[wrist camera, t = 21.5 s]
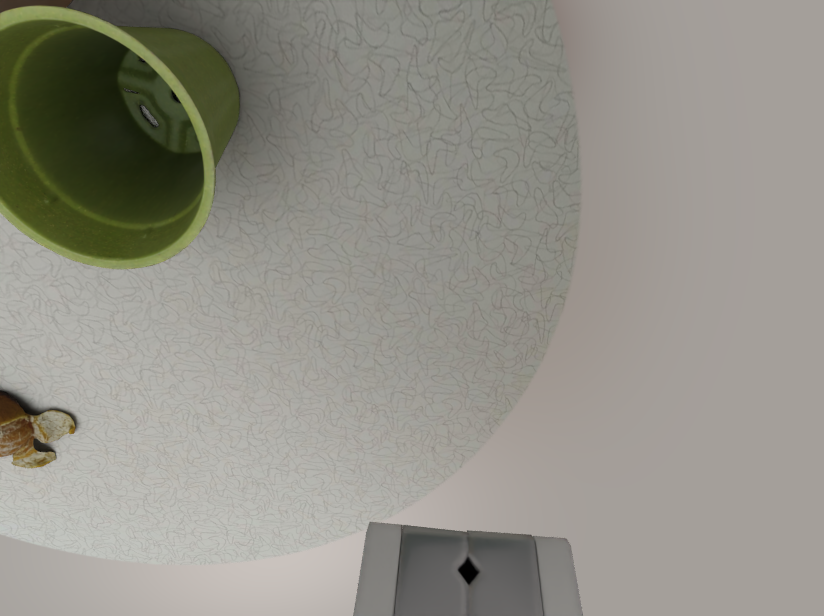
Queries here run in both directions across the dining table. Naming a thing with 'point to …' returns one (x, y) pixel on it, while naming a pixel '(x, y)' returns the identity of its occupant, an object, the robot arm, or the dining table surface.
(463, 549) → the robot arm
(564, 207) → the dining table surface
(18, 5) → the carton
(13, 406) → the fruit
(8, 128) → the plant pot
